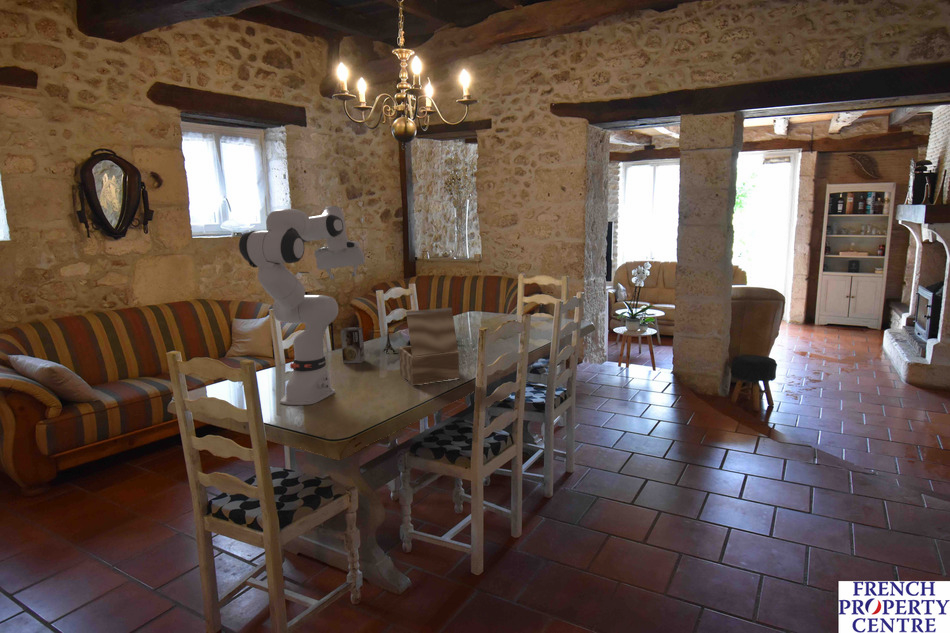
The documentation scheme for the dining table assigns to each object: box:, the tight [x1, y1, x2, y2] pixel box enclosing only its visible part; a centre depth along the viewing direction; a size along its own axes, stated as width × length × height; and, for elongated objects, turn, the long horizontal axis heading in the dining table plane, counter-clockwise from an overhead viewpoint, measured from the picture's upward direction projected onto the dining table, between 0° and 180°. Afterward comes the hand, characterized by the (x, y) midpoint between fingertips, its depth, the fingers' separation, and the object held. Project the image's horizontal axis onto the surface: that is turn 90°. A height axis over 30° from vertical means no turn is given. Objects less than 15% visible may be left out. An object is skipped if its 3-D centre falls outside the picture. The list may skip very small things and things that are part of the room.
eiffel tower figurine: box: [373, 328, 396, 355], centre depth 291 cm, size 15×10×13 cm
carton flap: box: [405, 307, 459, 356], centre depth 235 cm, size 18×19×1 cm
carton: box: [398, 345, 460, 386], centre depth 244 cm, size 20×20×12 cm
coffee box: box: [340, 326, 366, 364], centre depth 273 cm, size 9×6×16 cm
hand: (343, 277), depth 245 cm, fingers open, 8 cm apart
